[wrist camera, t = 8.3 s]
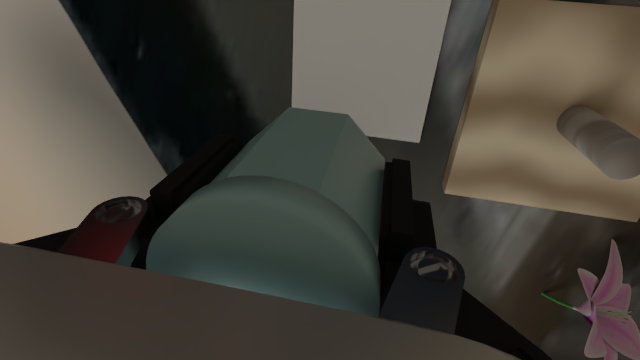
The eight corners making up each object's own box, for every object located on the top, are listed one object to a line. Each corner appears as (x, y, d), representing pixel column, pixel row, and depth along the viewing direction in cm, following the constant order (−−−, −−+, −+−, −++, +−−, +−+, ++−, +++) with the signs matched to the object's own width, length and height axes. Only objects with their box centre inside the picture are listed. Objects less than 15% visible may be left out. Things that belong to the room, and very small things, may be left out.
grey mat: (418, 140, 32) (419, 142, 32) (292, 123, 34) (291, 125, 33) (451, -8, 26) (452, -7, 26) (296, -19, 28) (294, -19, 27)
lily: (604, 322, 39) (711, 380, 30) (510, 351, 38) (590, 421, 28) (595, 221, 38) (705, 248, 28) (496, 247, 36) (577, 285, 27)
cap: (399, 114, 11) (400, 227, 6) (375, 241, 14) (362, 397, 8) (243, 95, 12) (122, 181, 7) (249, 220, 14) (165, 351, 9)
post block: (623, 209, 31) (696, 281, 24) (442, 182, 34) (455, 241, 26) (741, 14, 23) (909, 28, 16) (493, -5, 26) (535, 0, 18)
